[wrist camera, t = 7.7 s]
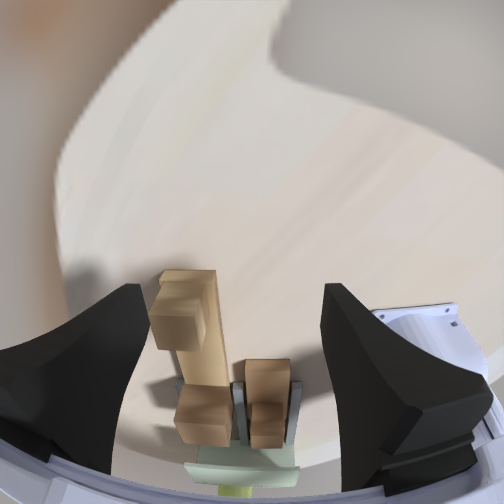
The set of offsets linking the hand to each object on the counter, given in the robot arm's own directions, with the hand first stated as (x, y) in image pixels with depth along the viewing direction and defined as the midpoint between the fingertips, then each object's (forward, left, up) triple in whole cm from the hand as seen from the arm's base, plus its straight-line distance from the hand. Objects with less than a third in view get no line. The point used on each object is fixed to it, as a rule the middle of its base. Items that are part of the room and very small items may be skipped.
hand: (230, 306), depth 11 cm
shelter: (+1, +28, -10) cm, 30 cm away
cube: (+4, +18, -8) cm, 20 cm away
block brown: (-1, +18, -10) cm, 20 cm away
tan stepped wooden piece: (+4, +12, -10) cm, 16 cm away
